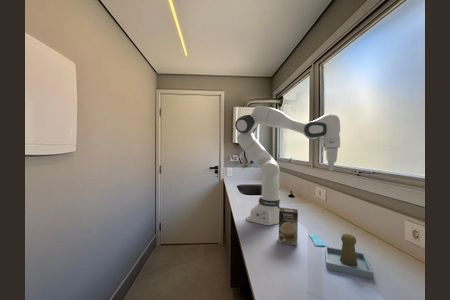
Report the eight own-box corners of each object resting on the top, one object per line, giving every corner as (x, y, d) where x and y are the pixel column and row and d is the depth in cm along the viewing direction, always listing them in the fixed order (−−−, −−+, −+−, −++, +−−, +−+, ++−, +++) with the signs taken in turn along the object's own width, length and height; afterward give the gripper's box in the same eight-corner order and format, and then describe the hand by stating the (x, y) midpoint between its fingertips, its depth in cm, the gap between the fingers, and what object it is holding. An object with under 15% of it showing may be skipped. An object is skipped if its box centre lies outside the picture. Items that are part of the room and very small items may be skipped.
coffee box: (278, 243, 98) (278, 210, 98) (279, 237, 104) (279, 207, 104) (297, 246, 95) (297, 212, 95) (297, 240, 101) (297, 208, 101)
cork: (336, 259, 83) (336, 233, 82) (347, 256, 85) (347, 230, 84) (349, 267, 77) (349, 240, 77) (361, 264, 79) (361, 237, 79)
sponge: (320, 235, 106) (308, 233, 107) (328, 246, 94) (315, 244, 95) (319, 237, 106) (308, 236, 107) (328, 249, 94) (315, 247, 95)
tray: (326, 268, 78) (326, 262, 77) (324, 251, 90) (324, 246, 90) (373, 279, 71) (373, 272, 71) (364, 259, 84) (364, 253, 84)
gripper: (323, 144, 119) (323, 167, 119) (325, 144, 100) (325, 171, 100) (335, 144, 116) (335, 168, 116) (339, 144, 97) (339, 172, 98)
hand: (330, 169), depth 108 cm, fingers open, 8 cm apart
